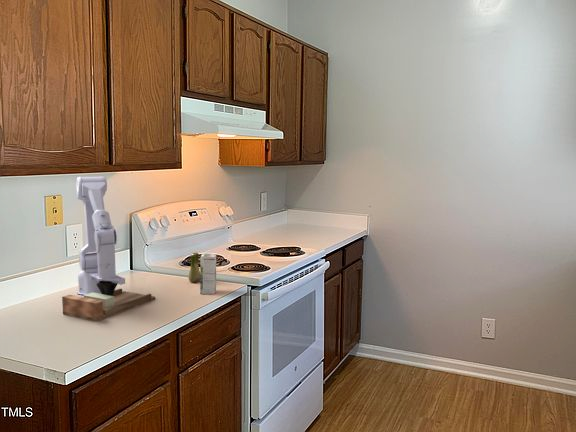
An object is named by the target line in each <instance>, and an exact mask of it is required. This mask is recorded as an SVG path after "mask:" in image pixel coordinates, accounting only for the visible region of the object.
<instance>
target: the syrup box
mask: <svg viewBox="0 0 576 432" xmlns="http://www.w3.org/2000/svg"><path fill="white" fill-rule="evenodd" d="M199 259H200V266H199V271H200V281H199V283H200V284H199V285H200V286H199V287H200V289H199V290H200V291H199V292H200V295H215V294H216V291H217V254H216V253H201V256H200V258H199Z"/></svg>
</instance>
